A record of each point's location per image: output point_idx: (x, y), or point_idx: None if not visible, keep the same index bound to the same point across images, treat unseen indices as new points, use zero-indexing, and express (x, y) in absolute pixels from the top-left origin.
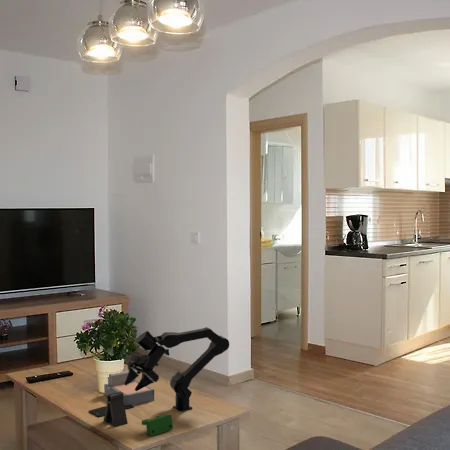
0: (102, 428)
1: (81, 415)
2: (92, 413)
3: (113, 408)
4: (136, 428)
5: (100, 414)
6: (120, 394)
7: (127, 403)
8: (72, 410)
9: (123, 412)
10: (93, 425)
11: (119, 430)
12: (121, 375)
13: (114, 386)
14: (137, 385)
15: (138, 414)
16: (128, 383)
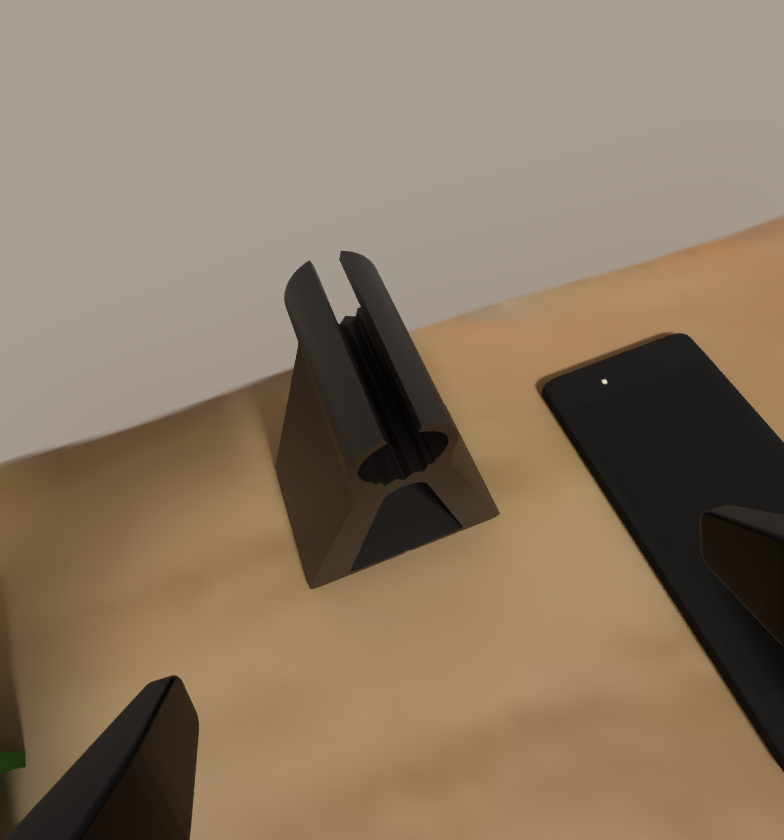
0: None
1: (606, 292)
2: (623, 353)
3: (296, 396)
4: (152, 648)
5: (576, 399)
6: (340, 414)
7: None
8: (722, 253)
9: (320, 529)
10: None
11: (193, 493)
12: None
13: None
14: (77, 794)
15: (530, 776)
16: (767, 621)
